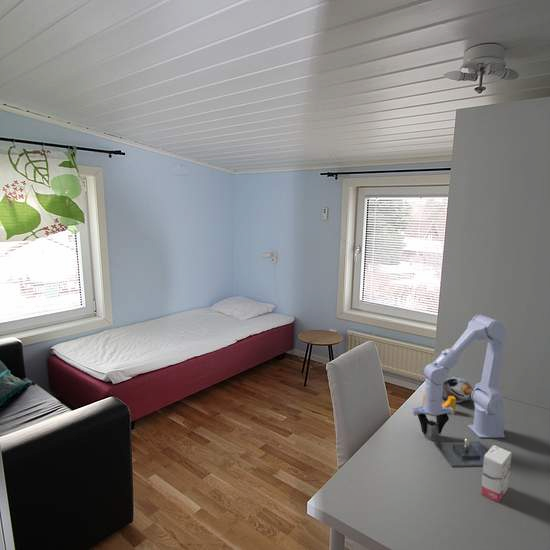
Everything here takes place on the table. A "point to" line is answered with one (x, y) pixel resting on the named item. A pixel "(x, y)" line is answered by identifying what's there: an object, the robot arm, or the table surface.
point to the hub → (432, 430)
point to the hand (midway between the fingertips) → (431, 432)
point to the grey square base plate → (463, 453)
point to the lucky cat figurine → (457, 389)
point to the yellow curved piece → (447, 402)
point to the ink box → (496, 473)
